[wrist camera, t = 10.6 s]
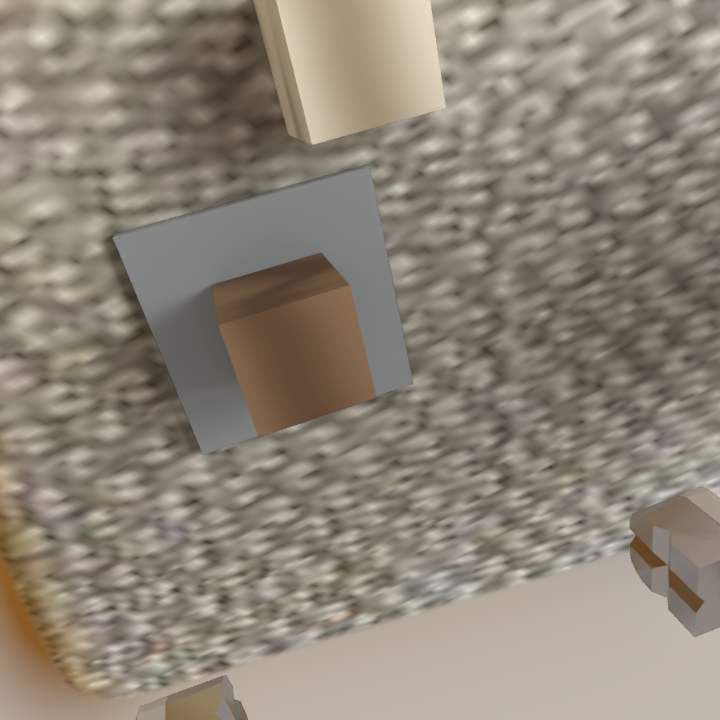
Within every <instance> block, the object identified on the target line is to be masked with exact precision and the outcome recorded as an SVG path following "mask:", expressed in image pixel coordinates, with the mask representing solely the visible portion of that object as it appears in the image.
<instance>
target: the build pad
mask: <svg viewBox="0 0 720 720" xmlns="http://www.w3.org/2000/svg"><path fill="white" fill-rule="evenodd" d="M113 240H114V242H115V245H116V247H117V249H118V252H119V254H120V257H121V259H122V261H123V264H124V266H125V269H126V271H127V273H128V276H129V278H130V281H131V283H132V285H133V288H134V290H135V293H136V295H137V298H138V300H139V302H140V305H141V307H142V310H143V312H144V314H145V317H146V319H147V322H148V324H149V326H150V329H151V331H152V334H153V336H154V338H155V341H156V343H157V346H158V348H159V350H160V353H161V355H162V358H163V360H164V362H165V365H166V367H167V370H168V372H169V374H170V377H171V379H172V382H173V384H174V386H175V389H176V391H177V394H178V396H179V398H180V401H181V403H182V406H183V408H184V410H185V413H186V415H187V418H188V420H189V422H190V425H191V427H192V430H193V432H194V434H195V437H196V439H197V442H198V444H199V446H200V449H201V451H202V454H203V455H204V454H207V453H210V452H213V451H215V450H218V449H221V448H224V447H227V446H230V445H233V444H236V443H239V442H242V441H245V440H248V439H251V438H254V437H257V436H258V435H257V432H256V429H255V426H254V423H253V421H252V418H251V415H250V412H249V409H248V407H247V404H246V401H245V398H244V395H243V392H242V390H241V387H240V384H239V381H238V378H237V376H236V373H235V370H234V367H233V364H232V362H231V359H230V356H229V353H228V350H227V348H226V345H225V342H224V339H223V336H222V334H221V331H220V328H219V325H218V319H217V314H216V308H215V303H214V297H213V291H212V286H211V285H212V284H216V283H219V282H223V281H226V280H229V279H233V278H236V277H240V276H243V275H246V274H250V273H253V272H257V271H260V270H263V269H267V268H270V267H273V266H277V265H280V264H284V263H287V262H290V261H294V260H297V259H301V258H304V257H307V256H311V255H314V254H318V253H322V254H323V255H324V256H325V257H326V258H327V259H328V261H329V262H330V263H331V264H332V265H333V266H334V267H335V269H336V270H337V271H338V272H339V273H340V274H341V275H342V277H343V278H344V279H345V280H346V281H347V282H348V283H349V285H350V287H351V292H352V296H353V300H354V304H355V309H356V313H357V317H358V321H359V325H360V330H361V334H362V338H363V342H364V347H365V351H366V355H367V359H368V364H369V368H370V372H371V376H372V381H373V385H374V389H375V393H376V396H379V395H381V394H384V393H387V392H390V391H393V390H396V389H399V388H402V387H405V386H408V385H411V384H413V380H412V375H411V370H410V365H409V360H408V355H407V350H406V345H405V340H404V335H403V330H402V325H401V320H400V315H399V310H398V305H397V300H396V295H395V290H394V285H393V280H392V275H391V270H390V265H389V260H388V255H387V250H386V245H385V240H384V235H383V230H382V225H381V220H380V215H379V210H378V205H377V200H376V195H375V190H374V185H373V180H372V175H371V170H370V166H368V165H363V166H360V167H356V168H353V169H349V170H345V171H342V172H338V173H334V174H331V175H327V176H324V177H320V178H316V179H313V180H309V181H305V182H302V183H298V184H295V185H291V186H287V187H284V188H280V189H276V190H273V191H269V192H266V193H262V194H258V195H255V196H251V197H247V198H244V199H240V200H237V201H233V202H229V203H226V204H222V205H218V206H215V207H211V208H208V209H204V210H200V211H197V212H193V213H189V214H186V215H182V216H179V217H175V218H171V219H168V220H164V221H160V222H157V223H153V224H150V225H146V226H142V227H139V228H135V229H131V230H128V231H124V232H120V233H117V234H114V235H113Z"/></svg>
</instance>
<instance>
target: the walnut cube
mask: <svg viewBox="0 0 720 720" xmlns="http://www.w3.org/2000/svg"><path fill="white" fill-rule="evenodd" d="M211 286H212V291H213V297H214V303H215V308H216V314H217V319H218V325H219V328H220V331H221V334H222V336H223V339H224V342H225V345H226V348H227V350H228V353H229V356H230V359H231V362H232V364H233V367H234V370H235V373H236V376H237V378H238V381H239V384H240V387H241V390H242V392H243V395H244V398H245V401H246V404H247V407H248V409H249V412H250V415H251V418H252V421H253V423H254V426H255V429H256V432H257V435H258V437H261V436H264V435H267V434H270V433H273V432H276V431H279V430H282V429H285V428H288V427H291V426H294V425H297V424H300V423H303V422H306V421H309V420H312V419H315V418H318V417H321V416H324V415H327V414H330V413H333V412H336V411H339V410H341V409H344V408H347V407H350V406H353V405H356V404H359V403H362V402H365V401H368V400H371V399H374V398H377V397H376V393H375V389H374V385H373V381H372V376H371V372H370V368H369V364H368V359H367V355H366V351H365V347H364V342H363V338H362V334H361V330H360V325H359V321H358V317H357V313H356V309H355V304H354V300H353V296H352V292H351V287H350V285H349V283H348V282H347V281H346V280H345V279H344V278H343V277H342V275H341V274H340V273H339V272H338V271H337V270H336V269H335V267H334V266H333V265H332V264H331V263H330V262H329V261H328V259H327V258H326V257H325V256H324V255H323V254H322V253H318V254H314V255H311V256H307V257H304V258H301V259H297V260H294V261H290V262H287V263H284V264H280V265H277V266H273V267H270V268H267V269H263V270H260V271H257V272H253V273H250V274H246V275H243V276H240V277H236V278H233V279H229V280H226V281H223V282H219V283H216V284H212V285H211Z"/></svg>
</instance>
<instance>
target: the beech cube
mask: <svg viewBox="0 0 720 720" xmlns="http://www.w3.org/2000/svg"><path fill="white" fill-rule="evenodd" d="M253 3H254V6H255V10H256V14H257V18H258V22H259V25H260V29H261V33H262V37H263V41H264V44H265V48H266V52H267V56H268V59H269V63H270V67H271V71H272V75H273V78H274V82H275V86H276V90H277V94H278V97H279V101H280V105H281V109H282V112H283V116H284V120H285V124H286V128H287V131H288V135H290V136H292V137H294V138H297V139H299V140H301V141H304V142H306V143H309V144H311V145H314V144H317V143H321V142H325V141H328V140H332V139H336V138H339V137H343V136H346V135H350V134H354V133H357V132H361V131H364V130H368V129H372V128H375V127H379V126H382V125H386V124H390V123H393V122H397V121H400V120H404V119H408V118H411V117H415V116H418V115H422V114H426V113H429V112H433V111H437V110H440V109H444V108H446V106H445V99H444V93H443V86H442V79H441V72H440V65H439V58H438V51H437V45H436V38H435V31H434V24H433V17H432V10H431V3H430V0H253Z"/></svg>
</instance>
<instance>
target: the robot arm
mask: <svg viewBox="0 0 720 720" xmlns="http://www.w3.org/2000/svg"><path fill="white" fill-rule="evenodd" d="M630 529H631V530H632V531H633V532H634V533H635V534H636V536H635V537H634V539H633V541H632V542H631V544H630V557H631V560H632V563H633V565H634V568H635V570H636V572H637V574H638V575H639V577H640V578H641V579H642V581H643V582H644V583H645V585H646V586H647V587H648V588H649V589H650V590H651V591H652V592H654V593H657V594H659V595H662V596H664V597H667V600H668V609H669V611H670V612H671V613H672V614H673V615H674V616H675V617H676V618H677V619H678V620H679V621H680V622H681V623H682V624H683V625H684V627H685V628H686V629H687V630H688V631H689V632H690V633H691V634H692V635H693V636H694V637H696V636H699V635H702V634H704V633H707V632H709V631H712V630H714V629H717V628H719V627H720V498H719V497H718V496H717V495H715V494H714V493H713V492H712V491H710V490H709V489H707V488H704V487H698V488H696V489H693V490H691V491H688V492H686V493H683V494H681V495H678V496H674V497H671V498H669V499H667V500H664V501H662V502H659V503H657V504H654V505H652V506H650V507H647V508H645V509H642V510H640V511H637V512H635V513H633V514H632V516H631V518H630ZM136 720H248V718H247V715H246V712H245V710H244V708H243V706H242V704H241V702H240V701H238V700H235V699H234V695H233V686H232V684H231V682H230V681H229V679H228V677H227V675H224V676H221V677H218V678H215V679H213V680H210V681H207V682H205V683H202V684H199V685H196V686H193V687H191V688H188V689H185V690H182V691H180V692H177V693H174V694H171V695H169V696H166V697H164V698H161V699H159V700H156V701H153V702H151V703H148V704H145V705H143V706H140V708H139V711H138V714H137V716H136Z"/></svg>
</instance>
